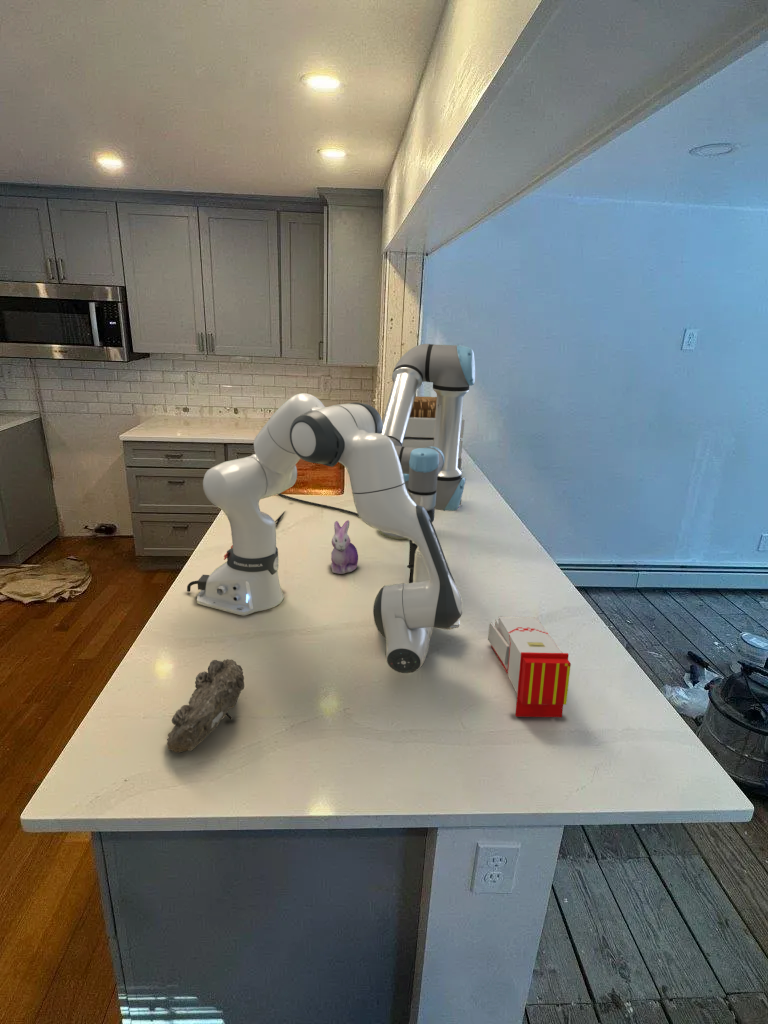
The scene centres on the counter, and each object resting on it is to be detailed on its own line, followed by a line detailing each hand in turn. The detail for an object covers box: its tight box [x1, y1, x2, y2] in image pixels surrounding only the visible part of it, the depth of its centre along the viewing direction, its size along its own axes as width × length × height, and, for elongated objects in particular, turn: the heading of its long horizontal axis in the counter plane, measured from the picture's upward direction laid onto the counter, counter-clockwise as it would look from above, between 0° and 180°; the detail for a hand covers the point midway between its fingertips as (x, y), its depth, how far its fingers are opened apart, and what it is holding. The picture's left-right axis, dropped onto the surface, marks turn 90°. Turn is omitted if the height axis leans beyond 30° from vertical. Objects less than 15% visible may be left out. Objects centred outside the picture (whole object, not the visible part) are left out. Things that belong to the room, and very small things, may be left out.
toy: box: [487, 616, 572, 718], centre depth 123 cm, size 12×13×30 cm
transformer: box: [402, 396, 465, 472], centre depth 268 cm, size 34×33×41 cm
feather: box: [274, 510, 286, 528], centre depth 212 cm, size 2×28×2 cm
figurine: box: [330, 519, 359, 575], centre depth 169 cm, size 9×10×15 cm
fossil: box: [166, 658, 245, 754], centre depth 106 cm, size 22×10×15 cm
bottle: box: [413, 547, 431, 583], centre depth 141 cm, size 4×4×24 cm
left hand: (421, 595), depth 144 cm, fingers closed on bottle, 4 cm apart
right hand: (415, 585), depth 160 cm, fingers closed on cap, 4 cm apart
